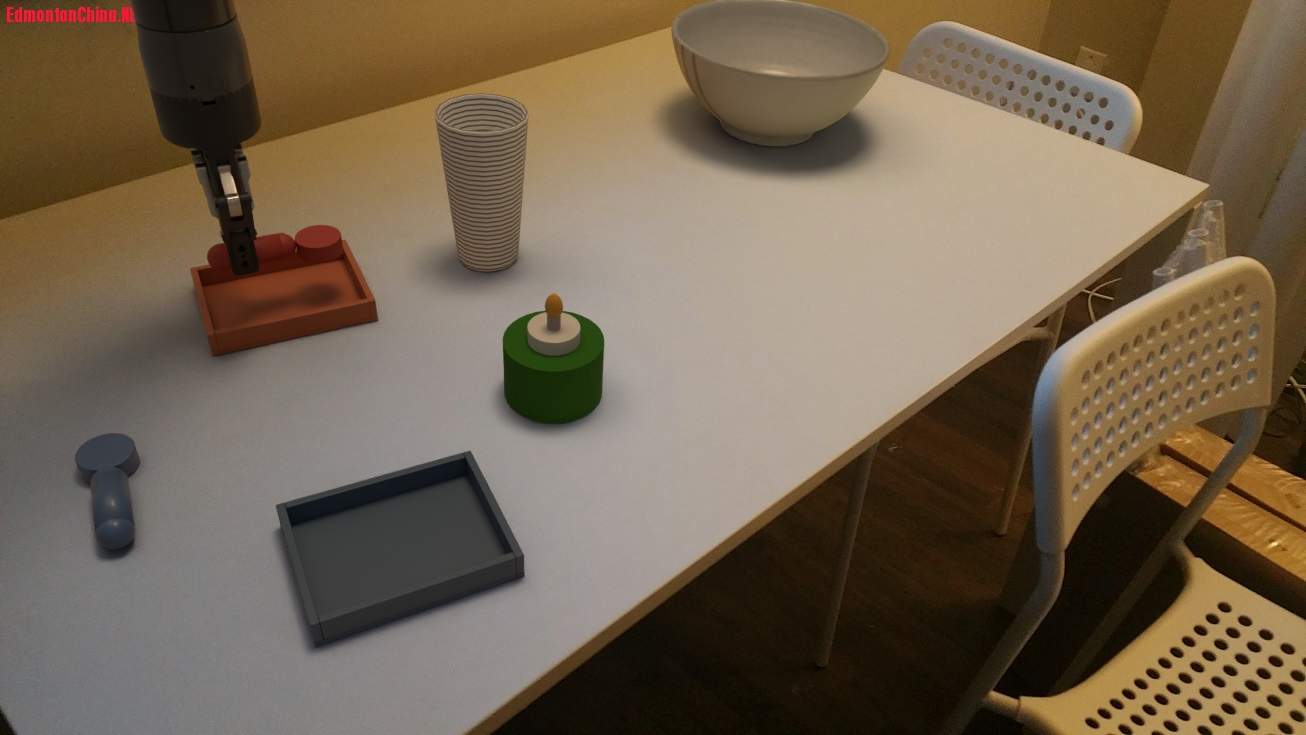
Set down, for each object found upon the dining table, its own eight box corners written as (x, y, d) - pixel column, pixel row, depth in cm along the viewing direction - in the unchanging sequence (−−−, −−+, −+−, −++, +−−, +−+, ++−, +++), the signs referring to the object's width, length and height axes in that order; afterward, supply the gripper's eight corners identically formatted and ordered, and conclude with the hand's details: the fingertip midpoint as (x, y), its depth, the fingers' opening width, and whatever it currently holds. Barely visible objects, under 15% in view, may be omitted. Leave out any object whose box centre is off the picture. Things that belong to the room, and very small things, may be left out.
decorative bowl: (624, 131, 124) (629, 36, 116) (725, 68, 142) (735, -17, 135) (818, 196, 114) (837, 97, 106) (900, 120, 132) (921, 31, 125)
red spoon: (213, 283, 85) (207, 260, 83) (207, 260, 87) (201, 236, 86) (347, 257, 89) (344, 235, 87) (337, 236, 92) (334, 213, 90)
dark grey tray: (315, 647, 63) (309, 625, 61) (280, 525, 70) (275, 504, 69) (524, 575, 68) (524, 554, 67) (471, 470, 76) (470, 449, 74)
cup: (545, 267, 99) (544, 122, 89) (465, 288, 95) (455, 139, 85) (509, 227, 104) (505, 87, 94) (432, 245, 100) (420, 101, 91)
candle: (541, 349, 88) (541, 254, 82) (620, 383, 85) (626, 287, 79) (484, 398, 82) (479, 300, 76) (566, 437, 79) (567, 338, 73)
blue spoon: (153, 546, 68) (144, 522, 67) (89, 564, 66) (78, 541, 65) (137, 442, 76) (129, 419, 74) (79, 456, 74) (69, 433, 73)
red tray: (212, 356, 84) (207, 335, 83) (195, 287, 92) (189, 267, 91) (378, 320, 90) (375, 300, 89) (348, 258, 98) (345, 239, 96)
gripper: (138, 47, 79) (187, 233, 90) (157, 118, 70) (209, 315, 81) (236, 37, 82) (272, 218, 93) (267, 103, 73) (304, 296, 84)
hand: (243, 262), depth 87 cm, fingers closed on red spoon, 2 cm apart
